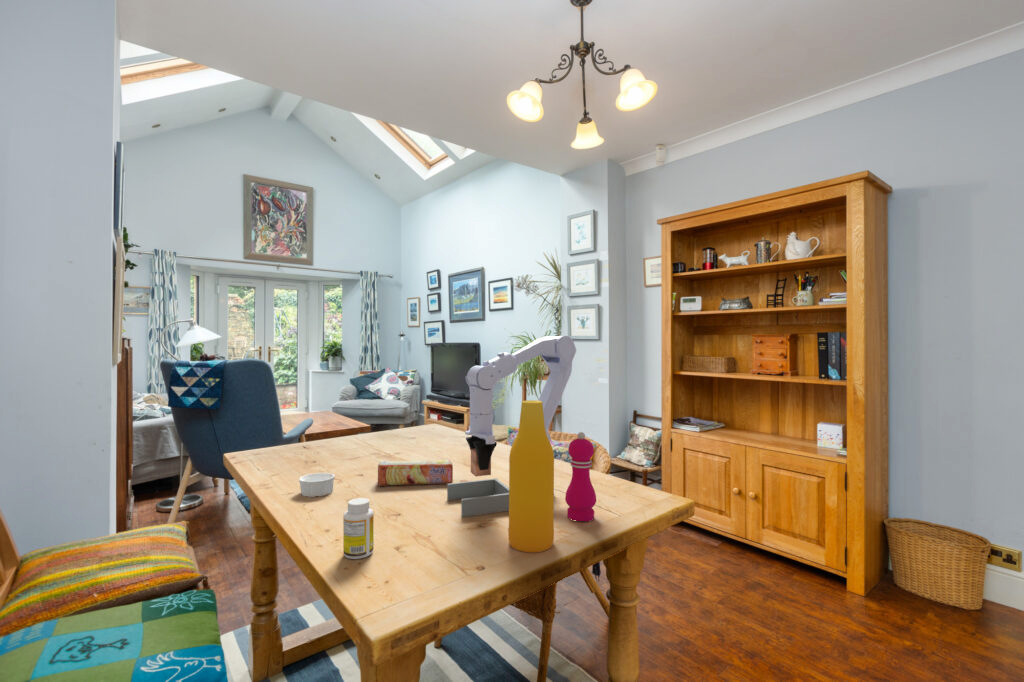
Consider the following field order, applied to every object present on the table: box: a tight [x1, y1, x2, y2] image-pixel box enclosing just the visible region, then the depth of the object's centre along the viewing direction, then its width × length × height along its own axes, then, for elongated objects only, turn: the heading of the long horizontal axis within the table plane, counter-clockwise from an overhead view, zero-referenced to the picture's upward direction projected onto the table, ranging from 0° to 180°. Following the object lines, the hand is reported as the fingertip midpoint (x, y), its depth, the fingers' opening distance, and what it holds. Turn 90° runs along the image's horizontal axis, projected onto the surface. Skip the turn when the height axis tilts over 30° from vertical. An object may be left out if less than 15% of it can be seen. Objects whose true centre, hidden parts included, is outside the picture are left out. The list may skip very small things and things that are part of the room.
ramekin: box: [298, 472, 336, 498], centre depth 130 cm, size 9×9×4 cm
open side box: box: [446, 477, 509, 518], centre depth 122 cm, size 14×14×4 cm
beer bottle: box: [507, 399, 555, 553], centre depth 98 cm, size 9×9×29 cm
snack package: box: [377, 459, 454, 487], centre depth 139 cm, size 21×7×7 cm, turn 99°
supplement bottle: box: [342, 497, 375, 560], centre depth 93 cm, size 6×6×10 cm
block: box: [470, 449, 492, 477], centre depth 122 cm, size 4×4×6 cm
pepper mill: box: [564, 431, 597, 522], centre depth 113 cm, size 7×7×20 cm
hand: (480, 467), depth 122 cm, fingers closed on block, 4 cm apart
